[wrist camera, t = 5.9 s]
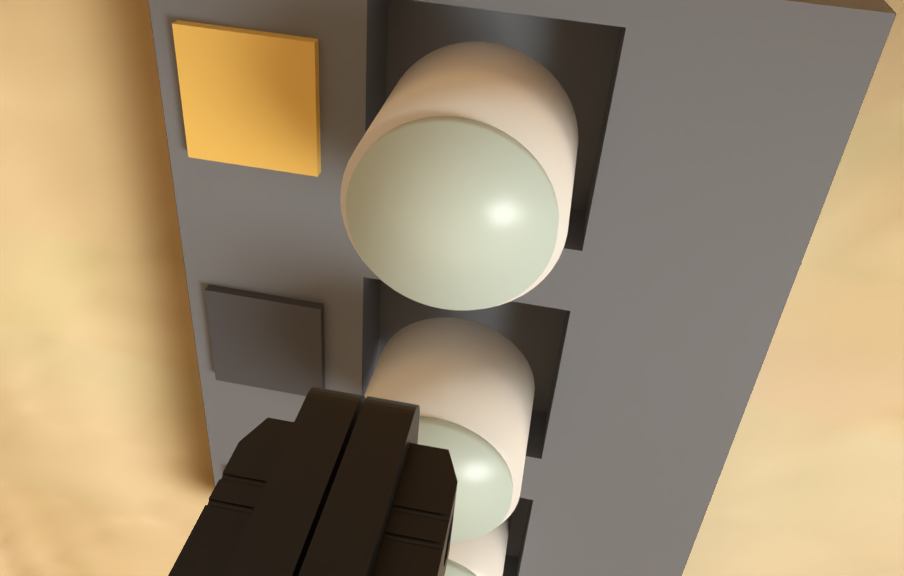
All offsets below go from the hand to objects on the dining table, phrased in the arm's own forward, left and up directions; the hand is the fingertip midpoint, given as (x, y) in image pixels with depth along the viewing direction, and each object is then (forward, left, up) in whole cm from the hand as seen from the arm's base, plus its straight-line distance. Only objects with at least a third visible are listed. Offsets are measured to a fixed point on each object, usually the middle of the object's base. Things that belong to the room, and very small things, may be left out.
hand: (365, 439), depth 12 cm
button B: (0, +8, -11) cm, 13 cm away
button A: (0, 0, -11) cm, 11 cm away
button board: (0, +8, -14) cm, 16 cm away
